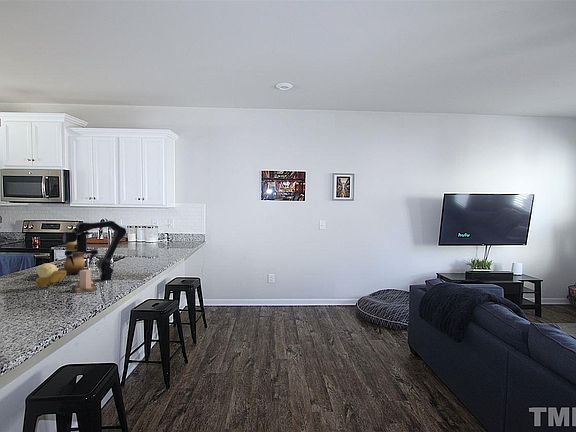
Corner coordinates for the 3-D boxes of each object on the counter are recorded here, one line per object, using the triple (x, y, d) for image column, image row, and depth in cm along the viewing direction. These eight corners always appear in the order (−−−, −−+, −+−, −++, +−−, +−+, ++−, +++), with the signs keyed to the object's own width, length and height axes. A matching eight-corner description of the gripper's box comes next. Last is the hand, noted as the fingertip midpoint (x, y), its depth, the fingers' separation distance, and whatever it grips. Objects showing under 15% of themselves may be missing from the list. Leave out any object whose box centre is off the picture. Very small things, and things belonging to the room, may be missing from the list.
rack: (95, 285, 239) (95, 280, 239) (95, 293, 220) (95, 288, 220) (75, 287, 234) (75, 282, 233) (74, 295, 215) (74, 289, 215)
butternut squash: (80, 275, 267) (80, 241, 266) (60, 275, 265) (60, 241, 264) (87, 271, 281) (87, 239, 280) (68, 271, 279) (68, 239, 277)
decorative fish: (64, 278, 249) (61, 265, 247) (68, 279, 249) (65, 265, 246) (36, 293, 229) (33, 279, 226) (41, 294, 228) (37, 279, 225)
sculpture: (33, 279, 252) (33, 263, 251) (49, 275, 263) (49, 261, 263) (45, 280, 248) (45, 265, 248) (61, 277, 259) (61, 262, 259)
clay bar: (85, 288, 226) (85, 269, 226) (91, 289, 225) (91, 269, 225) (79, 290, 222) (79, 270, 221) (85, 290, 221) (86, 271, 220)
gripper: (97, 240, 250) (97, 262, 250) (65, 240, 240) (65, 264, 241) (97, 241, 240) (97, 265, 241) (64, 242, 231) (64, 267, 231)
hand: (81, 265), depth 239 cm, fingers open, 9 cm apart
